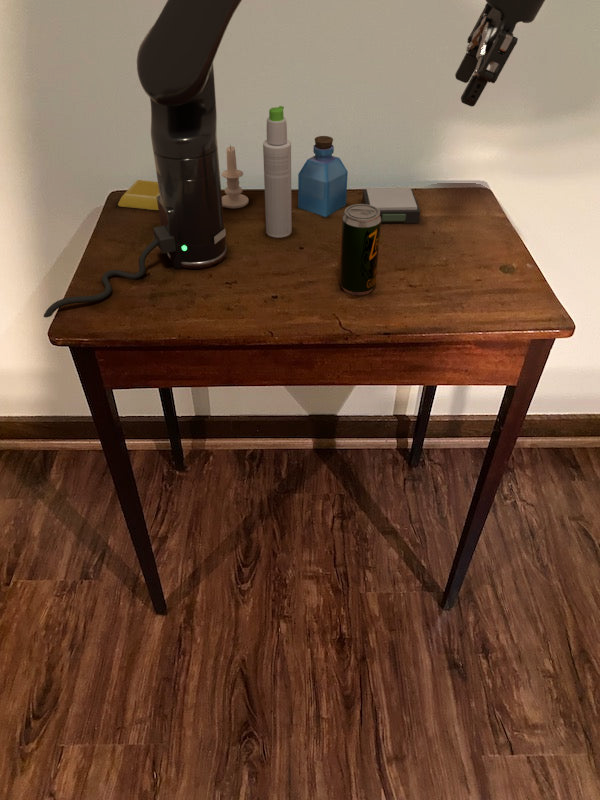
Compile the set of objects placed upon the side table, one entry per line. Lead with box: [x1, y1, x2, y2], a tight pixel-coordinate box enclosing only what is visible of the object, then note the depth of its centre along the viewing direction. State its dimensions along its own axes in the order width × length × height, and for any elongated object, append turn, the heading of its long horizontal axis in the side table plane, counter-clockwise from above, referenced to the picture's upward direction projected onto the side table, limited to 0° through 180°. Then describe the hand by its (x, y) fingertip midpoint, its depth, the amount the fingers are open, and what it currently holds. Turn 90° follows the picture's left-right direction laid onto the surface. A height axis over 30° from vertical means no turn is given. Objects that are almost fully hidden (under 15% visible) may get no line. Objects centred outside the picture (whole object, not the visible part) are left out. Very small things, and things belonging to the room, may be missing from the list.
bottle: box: [262, 105, 293, 239], centre depth 106 cm, size 4×4×20 cm
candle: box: [221, 144, 250, 209], centre depth 118 cm, size 5×5×10 cm
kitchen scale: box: [361, 187, 421, 225], centre depth 117 cm, size 9×9×3 cm
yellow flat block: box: [117, 179, 160, 211], centre depth 122 cm, size 9×9×2 cm
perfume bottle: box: [297, 135, 349, 218], centre depth 116 cm, size 6×6×12 cm
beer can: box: [339, 203, 382, 297], centre depth 96 cm, size 5×5×12 cm
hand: (463, 91), depth 98 cm, fingers open, 8 cm apart
